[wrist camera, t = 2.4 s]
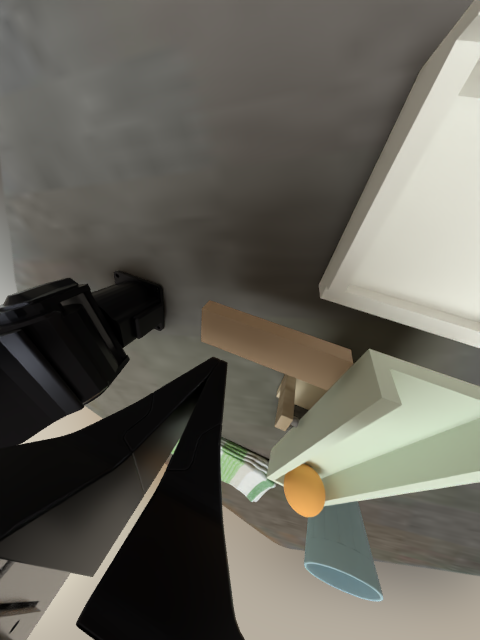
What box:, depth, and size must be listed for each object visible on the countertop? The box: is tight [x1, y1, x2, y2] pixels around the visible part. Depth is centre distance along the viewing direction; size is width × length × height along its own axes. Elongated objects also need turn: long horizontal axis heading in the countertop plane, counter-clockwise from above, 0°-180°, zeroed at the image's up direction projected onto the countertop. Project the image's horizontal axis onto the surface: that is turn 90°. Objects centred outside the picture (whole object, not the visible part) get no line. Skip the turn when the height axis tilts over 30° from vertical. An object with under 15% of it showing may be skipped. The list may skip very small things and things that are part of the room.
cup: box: [304, 501, 383, 601], centre depth 24 cm, size 8×8×10 cm
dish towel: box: [171, 437, 276, 502], centre depth 38 cm, size 17×23×4 cm
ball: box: [284, 464, 326, 517], centre depth 19 cm, size 4×4×4 cm
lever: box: [201, 300, 480, 506], centre depth 16 cm, size 16×20×3 cm
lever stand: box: [275, 363, 354, 431], centre depth 18 cm, size 11×8×7 cm
